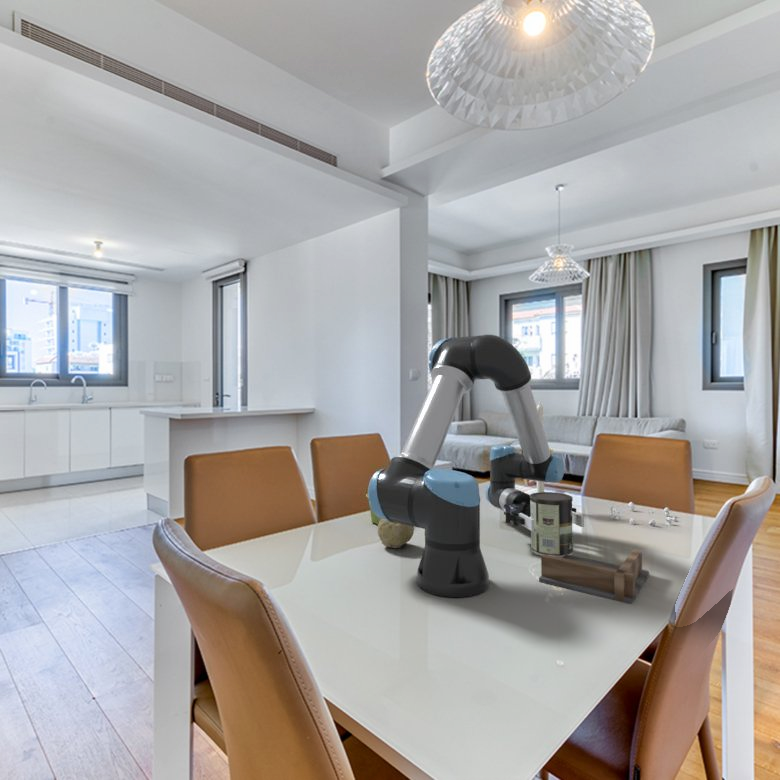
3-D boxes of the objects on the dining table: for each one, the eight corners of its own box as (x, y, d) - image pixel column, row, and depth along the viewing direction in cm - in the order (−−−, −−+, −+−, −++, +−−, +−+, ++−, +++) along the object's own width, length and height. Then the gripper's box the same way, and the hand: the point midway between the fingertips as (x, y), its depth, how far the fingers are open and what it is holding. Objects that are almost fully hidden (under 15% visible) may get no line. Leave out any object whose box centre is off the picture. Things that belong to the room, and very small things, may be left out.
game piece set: (608, 509, 166) (607, 497, 166) (675, 514, 157) (675, 503, 157) (606, 523, 148) (606, 511, 148) (682, 531, 139) (681, 517, 139)
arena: (631, 603, 92) (631, 577, 92) (539, 581, 103) (538, 558, 103) (649, 574, 106) (648, 551, 106) (566, 557, 117) (566, 537, 117)
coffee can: (564, 544, 127) (564, 491, 127) (579, 558, 117) (579, 500, 117) (525, 545, 127) (525, 491, 127) (536, 558, 117) (536, 500, 117)
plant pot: (396, 526, 146) (396, 497, 146) (365, 526, 146) (365, 498, 146) (396, 518, 155) (396, 491, 155) (367, 518, 155) (367, 491, 155)
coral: (423, 516, 131) (406, 508, 123) (413, 554, 128) (396, 549, 120) (393, 509, 136) (376, 501, 128) (383, 545, 133) (365, 540, 125)
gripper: (556, 513, 142) (602, 534, 121) (477, 519, 137) (511, 542, 116) (556, 488, 142) (602, 505, 121) (476, 493, 137) (511, 511, 116)
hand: (558, 523), depth 119 cm, fingers open, 13 cm apart
